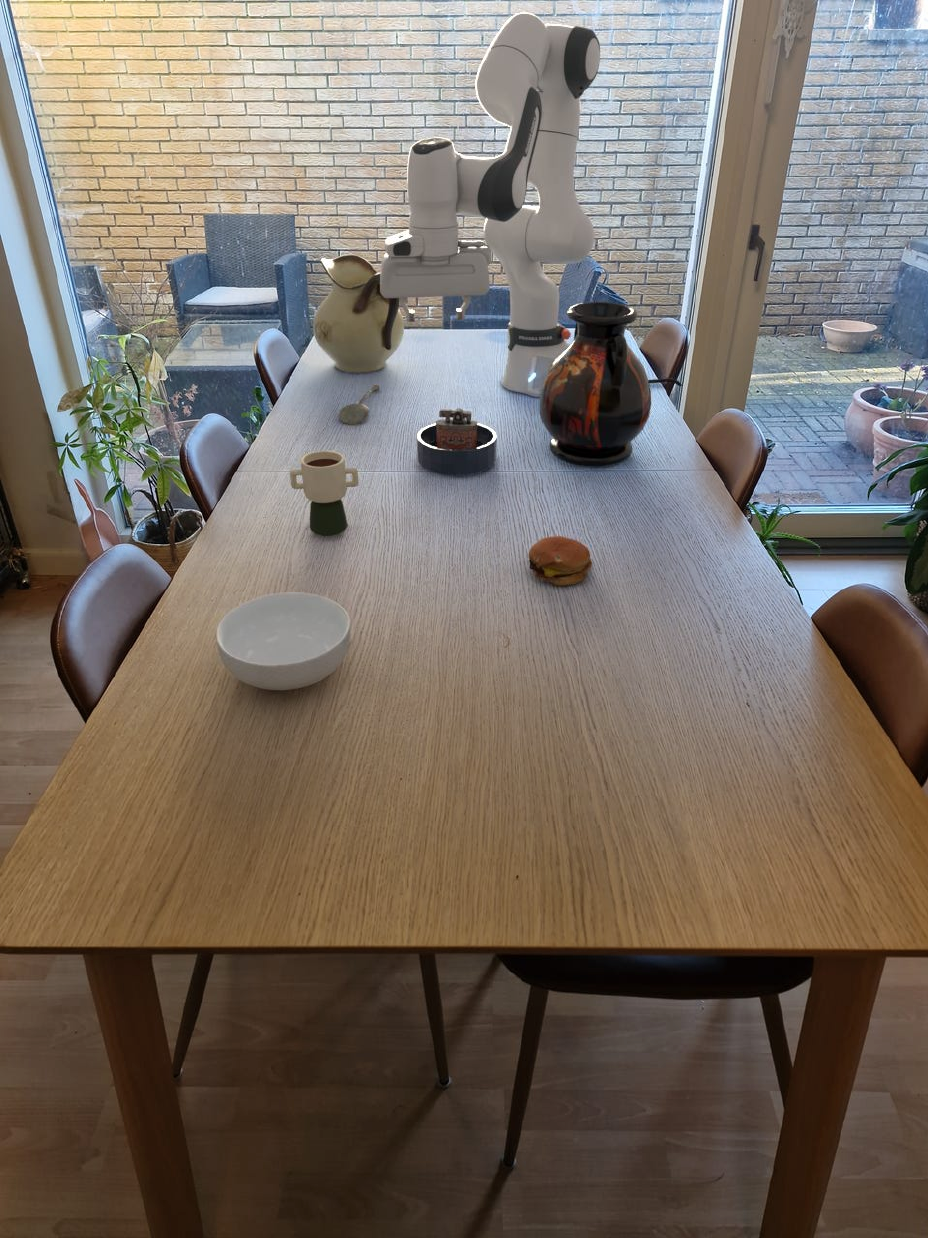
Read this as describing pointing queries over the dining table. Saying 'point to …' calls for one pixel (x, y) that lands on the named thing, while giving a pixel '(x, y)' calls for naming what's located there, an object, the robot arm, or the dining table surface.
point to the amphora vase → (596, 389)
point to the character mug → (325, 490)
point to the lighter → (456, 430)
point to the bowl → (456, 453)
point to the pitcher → (357, 317)
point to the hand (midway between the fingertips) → (435, 320)
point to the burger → (560, 560)
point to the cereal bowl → (284, 640)
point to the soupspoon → (356, 409)
